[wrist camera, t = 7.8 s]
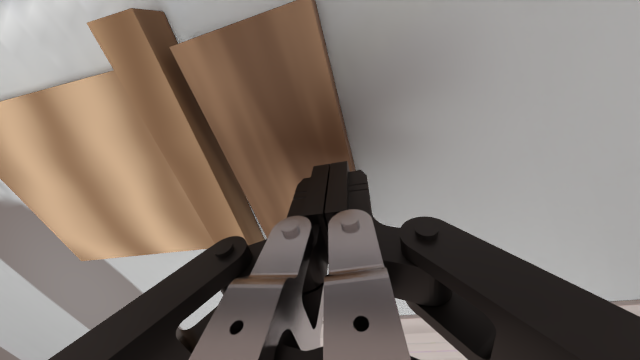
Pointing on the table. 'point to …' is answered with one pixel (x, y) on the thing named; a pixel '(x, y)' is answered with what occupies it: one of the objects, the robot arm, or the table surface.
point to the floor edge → (124, 153)
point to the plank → (269, 102)
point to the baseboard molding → (440, 354)
